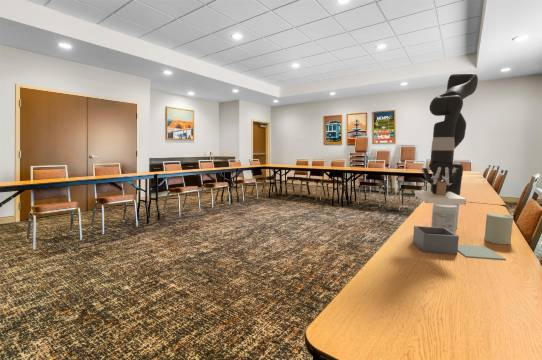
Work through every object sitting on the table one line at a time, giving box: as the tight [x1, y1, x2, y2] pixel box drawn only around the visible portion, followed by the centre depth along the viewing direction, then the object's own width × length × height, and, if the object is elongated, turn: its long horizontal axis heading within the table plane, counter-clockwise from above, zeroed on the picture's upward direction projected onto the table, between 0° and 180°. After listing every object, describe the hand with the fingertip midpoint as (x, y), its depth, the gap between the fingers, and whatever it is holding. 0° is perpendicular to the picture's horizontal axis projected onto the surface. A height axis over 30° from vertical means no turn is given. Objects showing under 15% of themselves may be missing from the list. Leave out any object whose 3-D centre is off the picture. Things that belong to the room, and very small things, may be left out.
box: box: [412, 225, 460, 255], centre depth 113 cm, size 12×12×7 cm
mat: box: [457, 243, 507, 261], centre depth 109 cm, size 14×13×1 cm
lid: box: [414, 180, 467, 206], centre depth 110 cm, size 13×13×7 cm
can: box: [483, 212, 514, 245], centre depth 122 cm, size 9×9×12 cm
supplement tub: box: [430, 203, 457, 234], centre depth 128 cm, size 10×10×15 cm
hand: (439, 193), depth 111 cm, fingers closed on lid, 3 cm apart
